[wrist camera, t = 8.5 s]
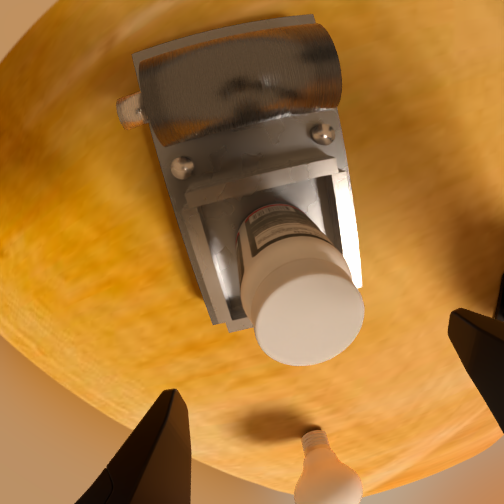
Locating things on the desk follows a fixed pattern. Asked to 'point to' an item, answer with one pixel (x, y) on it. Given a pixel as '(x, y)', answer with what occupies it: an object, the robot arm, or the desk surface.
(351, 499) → the lightbulb
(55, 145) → the desk surface
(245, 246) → the pill bottle
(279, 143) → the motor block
